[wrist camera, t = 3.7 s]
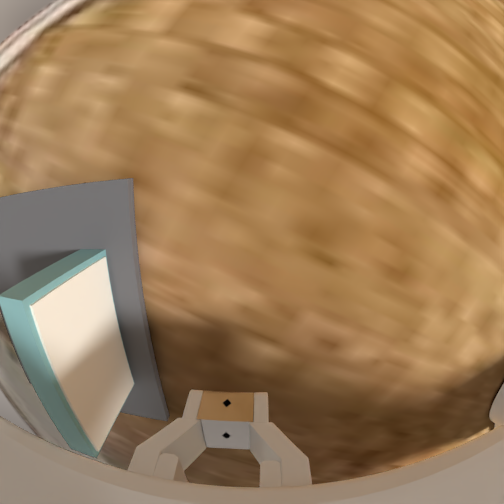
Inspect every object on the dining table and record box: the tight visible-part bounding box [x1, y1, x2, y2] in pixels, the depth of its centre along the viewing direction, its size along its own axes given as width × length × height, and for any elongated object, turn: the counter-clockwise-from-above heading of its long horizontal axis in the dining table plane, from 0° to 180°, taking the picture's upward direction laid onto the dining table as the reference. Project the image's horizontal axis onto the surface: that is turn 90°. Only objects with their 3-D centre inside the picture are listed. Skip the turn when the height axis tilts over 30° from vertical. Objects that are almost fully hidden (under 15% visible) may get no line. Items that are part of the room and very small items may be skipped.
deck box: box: [0, 249, 135, 458], centre depth 11 cm, size 2×9×6 cm, turn 0°
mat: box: [0, 178, 169, 421], centre depth 15 cm, size 14×16×1 cm
